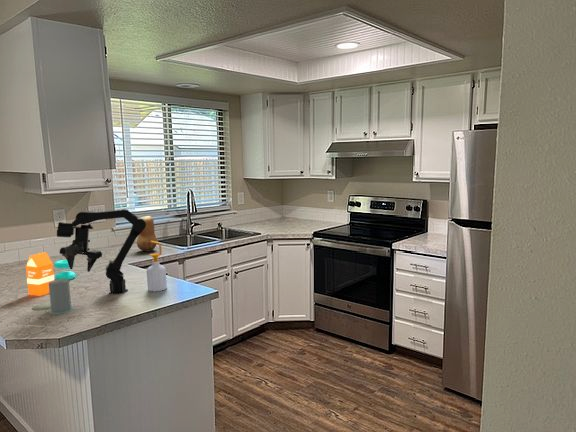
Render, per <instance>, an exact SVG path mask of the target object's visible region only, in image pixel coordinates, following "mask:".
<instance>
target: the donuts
mask: <svg viewBox="0 0 576 432" xmlns="http://www.w3.org/2000/svg"><path fill="white" fill-rule="evenodd" d="M74 265H75V263H74V264H73V266H74ZM53 268H56V269H59V270H62V269H70V267H69V264H68V261H67V259H60V260H57V261H55V262H54V263H53ZM74 278H76V273H75V272H74V271H69V270H67V271H61V272H59V273H57V274H55V275H54V280H58V279H68V280H69V281H71V280H73V279H74Z"/></svg>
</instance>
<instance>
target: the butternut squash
mask: <svg viewBox="0 0 576 432" xmlns="http://www.w3.org/2000/svg"><path fill="white" fill-rule="evenodd" d="M140 218H143V219H144V220H145V223H146V227H145V229H144V230H143V231H142V232H141V233H140V234H139V235H138V237H137V238H136V239H137V240H136V246H137V248H138V249H139V250H141V251H143V252H151V251H153V250H154V249H156V247H157V245H158V244H156V243H152V242H151V241H157V242H158V240H157V237H156V234H155V233H156V232H155V223H154V222H155V220H154V218H153V217H152V216H151V215H147V216H146V215H145V216H142V217H140Z"/></svg>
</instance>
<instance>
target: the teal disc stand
mask: <svg viewBox="0 0 576 432" xmlns="http://www.w3.org/2000/svg"><path fill="white" fill-rule="evenodd" d="M71 307H72V308H71V309H70V310H68V311H65V312H59V313H54V312H52V311H51V309H48V311H47V312H48V314H50V315H51V314H52V315H59V314H65V313H68V312H71V311H73V310H74V309H75V307H74V306H73V305H71Z"/></svg>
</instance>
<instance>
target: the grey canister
mask: <svg viewBox="0 0 576 432" xmlns="http://www.w3.org/2000/svg"><path fill="white" fill-rule="evenodd" d="M48 285H49V293H48V294H49V303H50V304H51V311H52V312H54V313H59V312H65V311H68V310H70V309H71V308H72V307H71V306H72V300H71V299H72V298H71V290H70V280H68V279H58V280H56V279H54V280H53V281H50V282H49V284H48Z"/></svg>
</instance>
